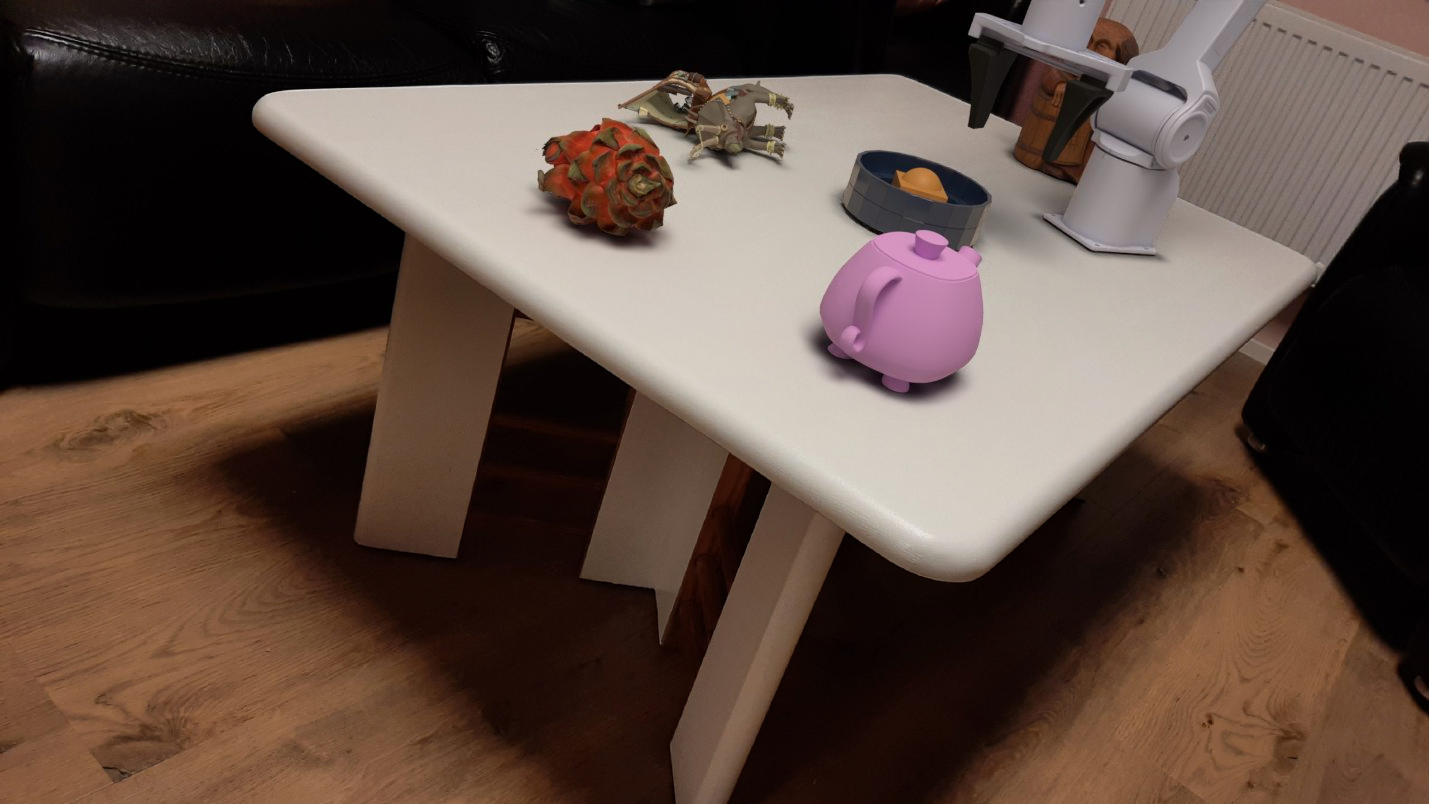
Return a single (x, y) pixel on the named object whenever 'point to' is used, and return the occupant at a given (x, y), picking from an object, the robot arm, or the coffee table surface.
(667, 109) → the figurine
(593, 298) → the coffee table surface
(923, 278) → the teapot
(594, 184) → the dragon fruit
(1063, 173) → the wooden figurine
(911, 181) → the orange toy brick
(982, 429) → the coffee table surface
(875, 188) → the bowl
